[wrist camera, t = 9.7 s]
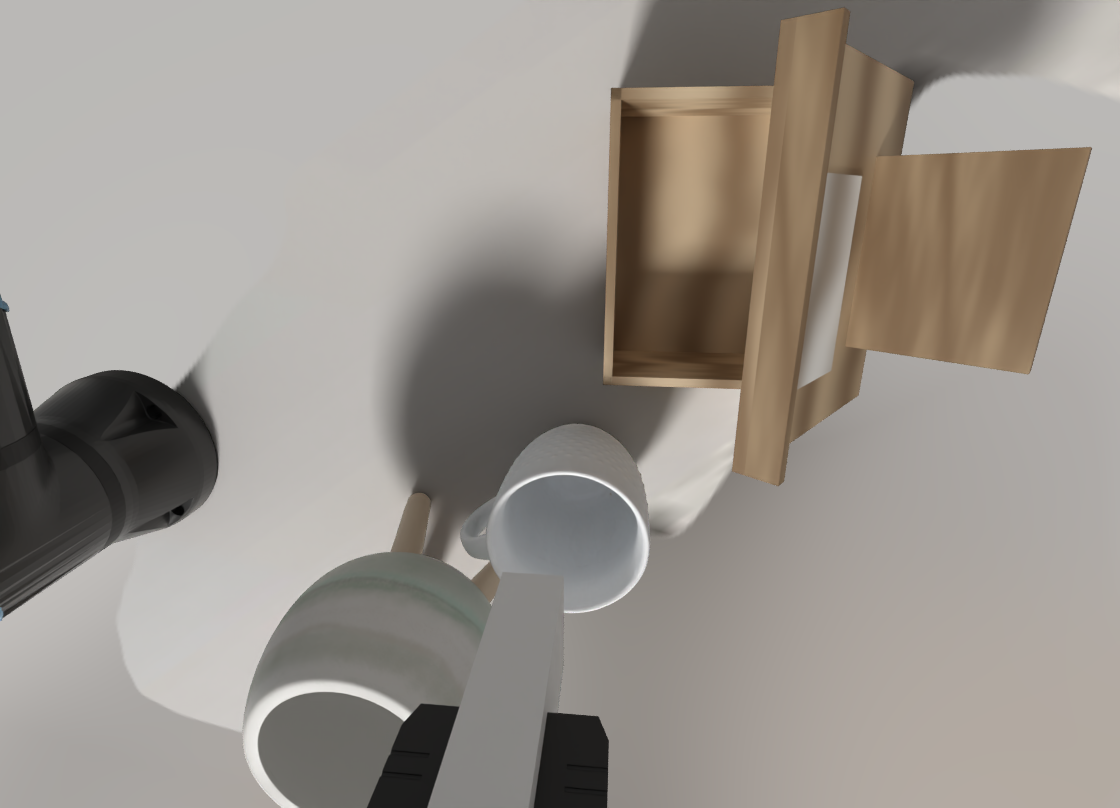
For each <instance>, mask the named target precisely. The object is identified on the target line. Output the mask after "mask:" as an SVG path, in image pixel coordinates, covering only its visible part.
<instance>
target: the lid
mask: <svg viewBox="0 0 1120 808" xmlns="http://www.w3.org/2000/svg"><path fill="white" fill-rule="evenodd" d="M849 17H850V11H849V10H847V9H846V8H845V7H844V8H839V9H834V10H829V11H824V12H819V13H814V14H809V15H804V16H799V17H794V18H789V19H785V20H781V24H780V33H779V42H778V52H777V61H776V70H775V79H774V88H773V98H772V107H771V116H770V125H769V135H768V144H767V153H766V162H765V172H764V181H763V190H762V199H761V209H760V218H759V227H758V236H757V246H756V255H755V264H754V273H753V283H752V292H751V301H750V310H749V319H748V329H747V338H746V347H745V356H744V366H743V375H742V384H741V393H740V403H739V412H738V421H737V430H736V440H735V449H734V458H733V467H732V471H733V472H736V473H739V474H742V475H745V476H748V477H752V478H754V479H758V480H761V481H764V482H767V483H770V484H773V485H776V486H779V485H780V484H782V483H783V482H784V478H785V471H786V464H787V457H788V450H789V443H791V442H792V441H794V440H795V439H797V438H798V437H800V436H801V435H802V434H804V433H805V432H807V431H808V430H810V429H811V428H812V427H814V426H815V425H817V424H818V423H819V422H821V421H822V420H824V419H825V418H827V417H828V416H830V415H831V414H832V413H834V412H835V411H837V410H838V409H840V408H841V407H842V406H844V405H845V404H847V403H848V402H850V401H851V400H852V399H854V398H855V397H857V396H858V395H859V390H860V384H861V378H862V373H863V367H864V362H865V356H866V350H873V351H879V352H887V353H892V354H899V355H906V356H912V357H919V358H925V359H932V360H938V361H945V362H952V363H958V364H964V365H971V366H978V367H984V368H990V369H997V370H1004V371H1010V372H1016V373H1023V374H1029V373H1030V371H1031V368H1032V365H1033V361H1034V357H1035V354H1036V350H1037V346H1038V343H1039V339H1040V335H1041V332H1042V328H1043V325H1044V321H1045V317H1046V313H1047V310H1048V306H1049V303H1050V299H1051V296H1052V292H1053V288H1054V284H1055V281H1056V277H1057V274H1058V270H1059V266H1060V263H1061V259H1062V255H1063V252H1064V248H1065V245H1066V241H1067V237H1068V233H1069V230H1070V226H1071V223H1072V219H1073V215H1074V212H1075V208H1076V204H1077V201H1078V197H1079V194H1080V190H1081V186H1082V183H1083V179H1084V176H1085V172H1086V168H1087V165H1088V161H1089V157H1090V154H1091V150H1092V148H1091V147H1086V148H1085V147H1084V148H1061V149H1039V150H1017V151H995V152H970V153H949V154H925V155H904V156H903V155H902V156H901V154H902V148H903V142H904V137H905V131H906V125H907V120H908V114H909V108H910V103H911V97H912V92H913V86H914V81H912V80H911V79H909V78H907V77H905V76H903V75H902V74H900V73H898V72H896V71H894V70H892V69H891V68H889V67H887V66H885V65H883V64H882V63H880V62H878V61H876V60H874V59H873V58H871V57H869V56H867V55H865V54H864V53H862V52H860V51H858V50H856V49H854V48H853V47H851V46H849V45H847V44H846V39H847V32H848V25H849Z"/></svg>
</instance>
